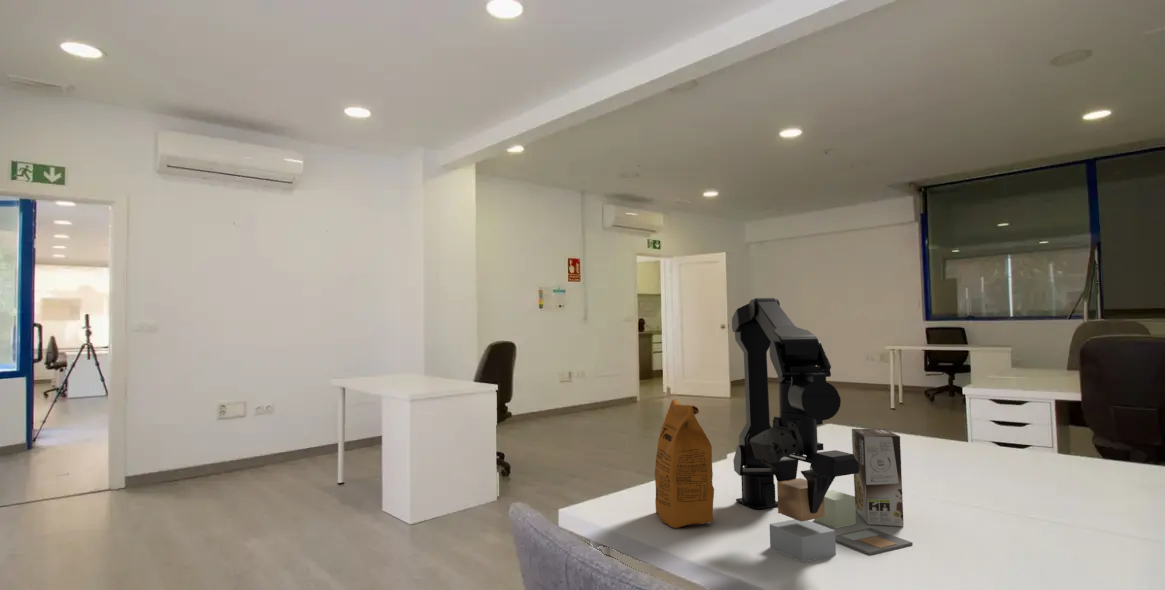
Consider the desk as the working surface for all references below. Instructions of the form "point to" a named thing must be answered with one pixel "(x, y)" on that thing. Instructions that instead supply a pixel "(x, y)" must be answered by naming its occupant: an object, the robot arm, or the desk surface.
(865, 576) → the desk surface
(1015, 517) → the desk surface
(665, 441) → the coffee package
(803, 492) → the walnut block
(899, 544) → the card
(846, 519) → the sage block
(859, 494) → the coffee box
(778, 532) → the slate base block
